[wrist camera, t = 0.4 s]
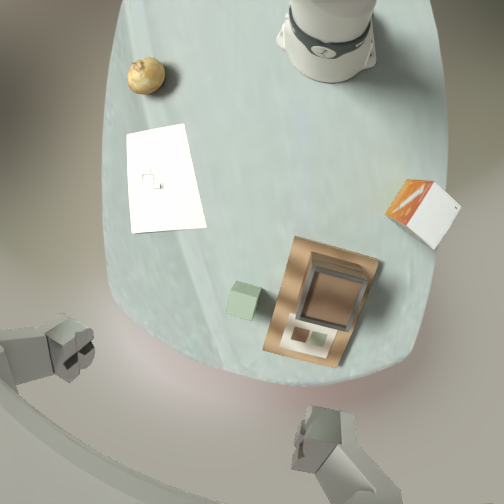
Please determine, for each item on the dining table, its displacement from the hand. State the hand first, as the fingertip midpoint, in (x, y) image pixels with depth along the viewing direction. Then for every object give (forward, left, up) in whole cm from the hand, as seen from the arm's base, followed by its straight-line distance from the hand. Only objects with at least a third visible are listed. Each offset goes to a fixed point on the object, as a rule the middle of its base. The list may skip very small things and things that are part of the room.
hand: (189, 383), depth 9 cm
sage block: (+17, -4, -45) cm, 49 cm away
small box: (-8, +21, -46) cm, 51 cm away
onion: (-22, -33, -46) cm, 60 cm away
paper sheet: (-3, -20, -46) cm, 50 cm away
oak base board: (+15, +10, -45) cm, 49 cm away
